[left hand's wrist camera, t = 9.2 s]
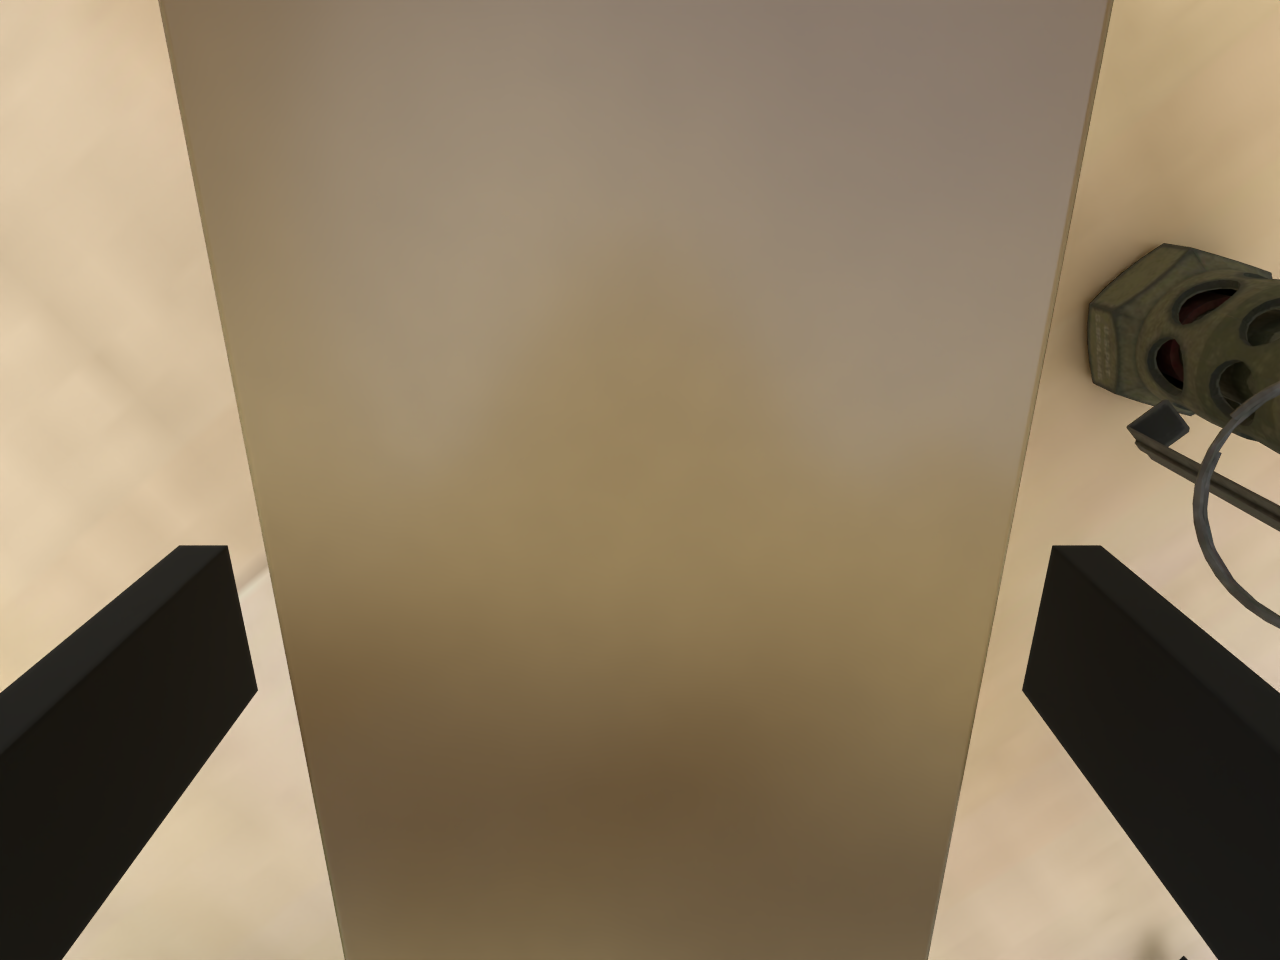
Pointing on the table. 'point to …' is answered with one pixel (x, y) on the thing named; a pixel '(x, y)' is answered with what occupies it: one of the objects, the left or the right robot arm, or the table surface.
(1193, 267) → the grenade
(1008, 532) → the bar
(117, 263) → the table surface
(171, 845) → the table surface
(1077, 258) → the table surface
